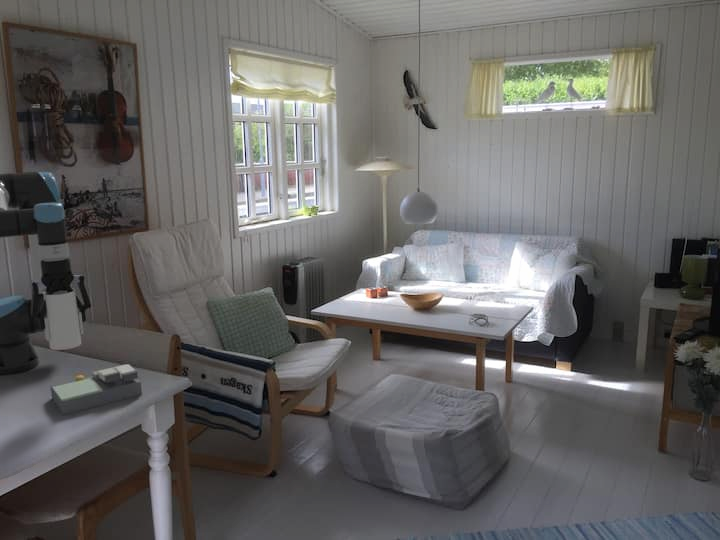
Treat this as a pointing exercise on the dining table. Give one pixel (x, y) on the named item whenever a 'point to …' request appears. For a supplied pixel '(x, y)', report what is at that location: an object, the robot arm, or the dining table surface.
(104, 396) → the panel
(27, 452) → the dining table surface
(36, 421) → the dining table surface
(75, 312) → the cup
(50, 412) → the dining table surface
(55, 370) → the dining table surface
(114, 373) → the light grey rectangular block
